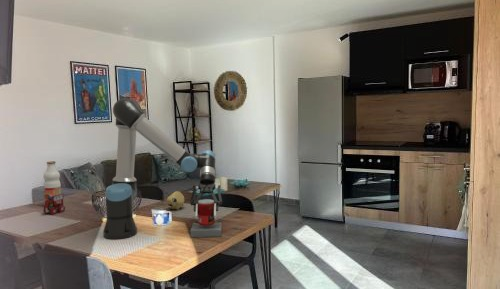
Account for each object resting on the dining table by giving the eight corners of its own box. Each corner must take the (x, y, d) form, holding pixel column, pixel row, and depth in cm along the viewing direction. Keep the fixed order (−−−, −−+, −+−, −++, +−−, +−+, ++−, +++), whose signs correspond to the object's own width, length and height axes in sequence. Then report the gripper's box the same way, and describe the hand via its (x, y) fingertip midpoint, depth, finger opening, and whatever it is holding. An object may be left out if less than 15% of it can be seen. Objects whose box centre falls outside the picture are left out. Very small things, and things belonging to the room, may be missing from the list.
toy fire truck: (40, 214, 210) (39, 197, 210) (59, 209, 222) (58, 192, 221) (48, 216, 207) (47, 198, 207) (67, 210, 219) (66, 193, 218)
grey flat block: (190, 237, 169) (190, 230, 169) (193, 229, 181) (193, 223, 181) (220, 236, 170) (220, 230, 169) (221, 228, 182) (221, 222, 181)
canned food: (211, 226, 170) (211, 203, 170) (195, 225, 172) (195, 202, 171) (216, 221, 178) (216, 199, 177) (201, 220, 180) (200, 198, 179)
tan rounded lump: (162, 210, 216) (161, 193, 216) (174, 206, 227) (173, 189, 227) (176, 212, 213) (175, 194, 212) (187, 207, 224) (187, 190, 223)
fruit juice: (63, 205, 231) (60, 161, 229) (46, 208, 225) (43, 163, 223) (60, 203, 239) (58, 160, 236) (43, 205, 233) (41, 161, 231)
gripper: (227, 181, 189) (228, 220, 175) (187, 181, 188) (184, 221, 174) (227, 172, 184) (227, 212, 169) (186, 173, 183) (182, 213, 168)
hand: (205, 217), depth 171 cm, fingers closed on canned food, 8 cm apart
